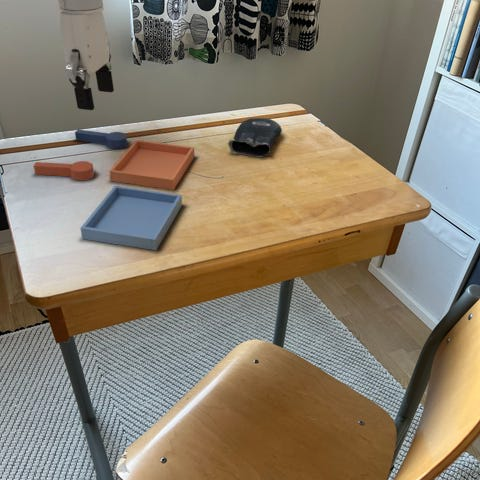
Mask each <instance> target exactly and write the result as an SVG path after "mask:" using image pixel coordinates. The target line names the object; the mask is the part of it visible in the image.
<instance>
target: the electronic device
mask: <svg viewBox="0 0 480 480" xmlns="http://www.w3.org/2000/svg"><path fill="white" fill-rule="evenodd" d="M282 131H283V129H282V127H281V125H280V124H279V123H278V122H277V121H275V120H274V119H270V118H266V117H260V118H259V117H254V118H248V119H245V120H244V121H242V122H241V123H240V124H239V125H238V127H237V129H236V131H235V133H234V135H233V138H232V139H230V140H229V141H228V142H227V145H228V148H229V150H230V153H231V154H233V155H234V154H235V155H236V154H238V155H246V156H251V157H256V158H264V157H265V156H267V155H268V154H269V153H270V152H271V149H272V147H273V146H274V143H275V141H276V140H277V139H278V138H279V137H280V136H281V134H282Z"/></svg>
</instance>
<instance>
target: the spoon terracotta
mask: <svg viewBox="0 0 480 480" xmlns="http://www.w3.org/2000/svg"><path fill="white" fill-rule="evenodd" d="M33 170H34V174H35V175H39V176H54V177H55V176H56V177H71V178H72V179H73V180H76V181H88V180H90V179H93V178H94V177H95V169H94V164H93V163H92V162H90V161H85V160H80V161H75V162H73V163H64V162H61V163H60V162H44V161H35V163H34V164H33Z"/></svg>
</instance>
